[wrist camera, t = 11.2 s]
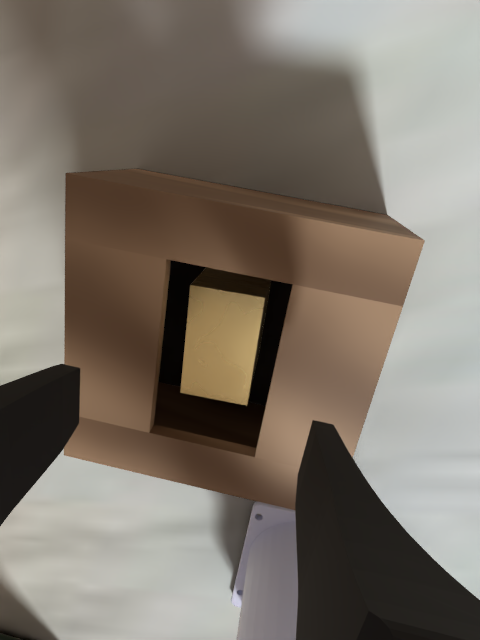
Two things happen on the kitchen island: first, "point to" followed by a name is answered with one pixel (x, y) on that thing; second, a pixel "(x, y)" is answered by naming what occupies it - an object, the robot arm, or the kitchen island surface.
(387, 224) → the brown square open block
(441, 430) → the kitchen island surface
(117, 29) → the kitchen island surface
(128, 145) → the kitchen island surface
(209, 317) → the wooden block
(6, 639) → the coffee jar
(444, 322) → the kitchen island surface
